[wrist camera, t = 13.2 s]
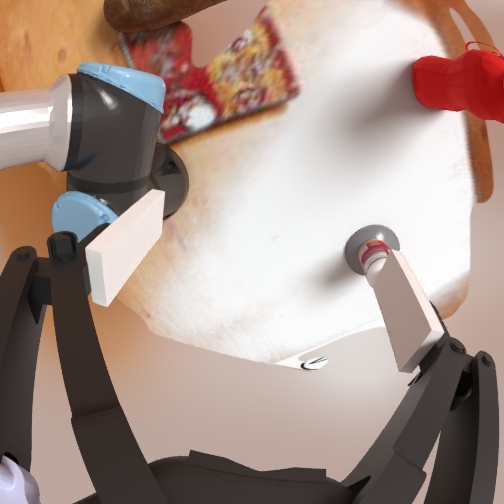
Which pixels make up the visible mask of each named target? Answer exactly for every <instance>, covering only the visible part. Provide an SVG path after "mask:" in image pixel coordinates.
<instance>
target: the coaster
mask: <svg viewBox="0 0 504 504" xmlns="http://www.w3.org/2000/svg"><path fill="white" fill-rule="evenodd" d="M371 239H380V240H382V241H384V242H385V243H386V244H387V246H388V247H389V249H390V250H391V249H393V250H396V251H399V250H400V245H399V241H398V238H397V236H396V235H395V233H394V232H393V231H392V230H391V229H389V228H388V227H385V226H382V225H369V226H366V227H364V228H362V229H360V230H358V231H357V232H356V233H355V234H354V235H353V236H352V237H351V239H350V240H349V242H348V244H347V248H346V258H347V261H348V264H349V266H350V267H351V268H352V269H353V270H354V271H355V272H357V273H359V274H361V275H365V273H364V270H363V267H362V265H361V262H360V259H359V250H360V248H361V246H362V245H363V244H364V243H365V242H367V241H369V240H371Z"/></svg>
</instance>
